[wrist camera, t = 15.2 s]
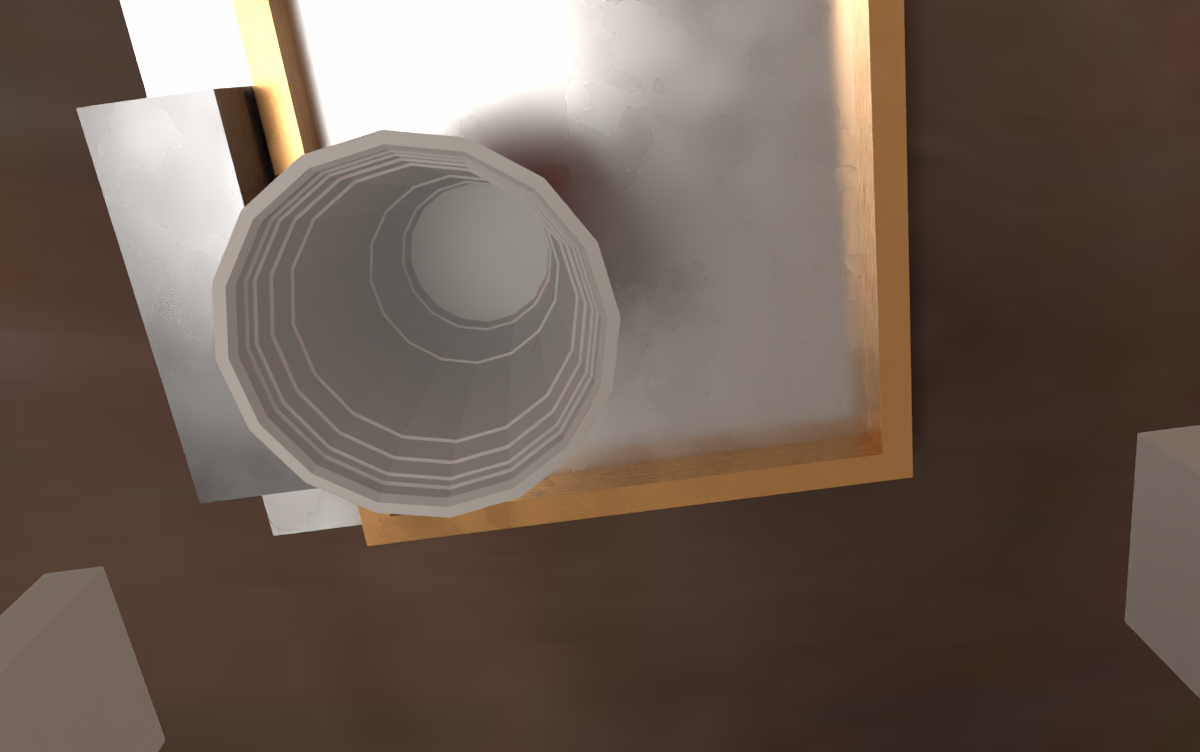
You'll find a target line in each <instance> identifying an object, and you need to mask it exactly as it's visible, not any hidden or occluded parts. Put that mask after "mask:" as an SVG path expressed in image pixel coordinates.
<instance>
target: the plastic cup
mask: <svg viewBox="0 0 1200 752" xmlns="http://www.w3.org/2000/svg"><path fill="white" fill-rule="evenodd" d="M212 296H213V317H214V338H215V358H216V362H217V364H218V366H219V368H220V370H221V372H222V374H223V377H224V379H225V381H226V383H227V385H228V387H229V389H230V391H231V393H232V395H233V397H234V399H235V401H236V404H237V406H238V408H239V410H240V412H241V414H242V416H243V418H244V420H245V422H246V424H247V426H248V429H249V430H250V431H251V432H252V433H253V434H254V435H255V436H256V437H257V438H258V439H260V440H261V441H262V442H263V443H264V444H265V445H266V446H267V447H268V448H269V449H270V450H271V451H272V452H273V453H274V454H275V455H277V456H278V457H279V458H280V459H281V460H282V461H283V462H284V463H285V464H286V465H287V466H288V467H289V468H290V469H291V470H292V471H294V472H295V473H296V474H297V475H298V476H299V477H300V478H301V479H302V480H303V481H304V482H305V483H308V484H310V485H312V486H315V487H317V488H319V489H321V490H324V491H326V492H328V493H331V494H333V495H335V496H338V497H340V498H342V499H345V500H347V501H349V502H352V503H354V504H356V505H359V506H361V507H363V508H365V509H368V510H370V511H372V512H375V513H387V514H402V515H417V516H432V517H447V518H451V517H454V516H458V515H461V514H464V513H468V512H471V511H475V510H478V509H481V508H485V507H488V506H492V505H495V504H499V503H502V502H505V501H509V500H512V499H516V498H519V497H521V496H522V495H524V494H525V493H526V492H527V491H529V490H530V489H531V488H533V487H534V486H535V485H537V484H538V483H539V482H540V481H542V480H543V479H544V478H546V477H547V476H548V475H550V474H551V473H552V472H553V471H555V470H556V469H557V468H559V467H560V466H561V465H563V464H564V463H565V462H566V461H568V460H569V459H570V458H572V457H573V456H574V455H576V454H577V452H578V451H579V449H580V447H581V445H582V444H583V442H584V440H585V438H586V437H587V435H588V433H589V431H590V430H591V428H592V426H593V424H594V423H595V421H596V419H597V417H598V416H599V414H600V412H601V410H602V409H603V407H604V405H605V403H606V402H607V400H608V398H609V396H610V395H611V393H612V391H613V383H614V374H615V365H616V355H617V346H618V337H619V328H620V319H621V316H620V313H619V310H618V307H617V303H616V300H615V297H614V294H613V290H612V287H611V284H610V281H609V277H608V274H607V271H606V268H605V264H604V261H603V258H602V255H601V251H600V248H599V245H598V242H597V241H596V239H595V238H594V237H593V236H592V235H591V233H590V232H589V231H588V230H587V229H586V227H585V226H584V225H583V224H582V223H581V221H580V220H579V219H578V218H577V217H576V215H575V214H574V213H573V212H572V211H571V209H570V208H569V207H568V206H567V205H566V203H565V202H564V201H563V200H562V199H561V198H560V196H559V195H558V194H557V193H556V192H555V190H554V189H553V188H552V187H551V186H550V184H549V183H548V182H547V181H546V180H545V178H543V177H541V176H539V175H537V174H536V173H534V172H532V171H530V170H528V169H526V168H524V167H522V166H520V165H519V164H517V163H515V162H513V161H511V160H509V159H507V158H505V157H503V156H502V155H500V154H498V153H496V152H494V151H492V150H490V149H488V148H487V147H485V146H483V145H481V144H479V143H477V142H475V141H473V140H471V139H470V138H466V137H456V136H445V135H435V134H425V133H414V132H404V131H394V130H383V129H381V130H378V131H375V132H372V133H369V134H365V135H362V136H359V137H356V138H353V139H350V140H347V141H344V142H341V143H338V144H334V145H331V146H328V147H325V148H322V149H319V150H316V151H313V152H310V153H306V154H303V155H301V156H300V157H299V158H297V159H296V160H295V161H294V162H293V163H292V164H291V165H290V166H289V167H288V168H287V169H286V170H284V171H283V172H282V173H281V174H280V175H279V176H278V177H277V178H276V179H275V180H274V181H272V182H271V183H270V184H269V185H268V186H267V187H266V188H265V189H264V190H263V191H262V192H260V193H259V194H258V195H257V196H256V197H255V198H254V199H253V200H252V201H251V202H250V203H249V204H247V205H246V206H245V207H244V208H243V209H242V210H241V212H240V215H239V217H238V219H237V222H236V224H235V227H234V229H233V232H232V234H231V237H230V239H229V242H228V244H227V247H226V249H225V252H224V254H223V257H222V259H221V262H220V264H219V266H218V269H217V271H216V274H215V276H214V279H213V281H212Z"/></svg>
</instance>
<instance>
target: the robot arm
mask: <svg viewBox="0 0 1200 752" xmlns="http://www.w3.org/2000/svg"><path fill="white" fill-rule="evenodd" d="M1125 622H1126V623H1127V624H1128V625H1129V626H1130V627H1131V628H1132V629H1133V631H1134V632H1135V633H1136V634H1137V635H1138V636H1139V637H1140V638H1141V639H1142V640H1143V641H1144V642H1145V643H1146V644H1147V645H1148V646H1149V647H1150V648H1151V649H1152V650H1153V651H1154V652H1155V653H1156V654H1157V655H1158V656H1159V657H1160V658H1161V659H1162V660H1163V661H1164V662H1165V663H1166V664H1167V665H1168V666H1169V667H1170V668H1171V670H1172V671H1173V672H1174V673H1175V674H1176V675H1177V676H1178V677H1179V678H1180V679H1181V680H1182V681H1183V682H1184V683H1185V684H1186V685H1187V686H1188V687H1189V688H1190V689H1191V690H1192V691H1193V692H1194V693H1195V694H1196V695H1197V696H1198V697H1199V698H1200V425H1197V426H1189V427H1182V428H1174V429H1166V430H1158V431H1150V432H1143V433H1138V435H1137V449H1136V464H1135V479H1134V493H1133V508H1132V522H1131V537H1130V552H1129V566H1128V581H1127V596H1126V610H1125ZM164 742H165V737H164V735H163V732H162V729H161V726H160V723H159V721H158V718H157V715H156V712H155V709H154V707H153V704H152V701H151V698H150V696H149V693H148V690H147V687H146V684H145V682H144V679H143V676H142V673H141V671H140V668H139V665H138V662H137V659H136V657H135V654H134V651H133V648H132V645H131V643H130V640H129V637H128V634H127V632H126V629H125V626H124V623H123V620H122V618H121V615H120V612H119V609H118V607H117V604H116V601H115V598H114V595H113V593H112V590H111V587H110V584H109V581H108V579H107V576H106V573H105V570H104V568H103V566H101V567H93V568H86V569H78V570H70V571H62V572H54V573H47V574H44V575H43V576H42V577H41V578H40V579H38V580H37V581H36V582H35V583H34V584H33V585H32V586H31V587H30V588H29V589H28V590H27V591H26V592H25V593H24V594H23V595H22V596H21V597H20V598H18V599H17V600H16V601H15V602H14V603H13V604H12V605H11V606H10V607H9V608H8V609H7V610H6V611H5V612H4V613H3V614H2V615H1V616H0V752H158V751H159V750H160V748H161V746H162V745H163V743H164Z"/></svg>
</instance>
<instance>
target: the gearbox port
mask: <svg viewBox="0 0 1200 752" xmlns="http://www.w3.org/2000/svg"><path fill="white" fill-rule="evenodd" d="M120 3H121V6H122V10H123V13H124V17H125V20H126V24H127V27H128V31H129V34H130V38H131V41H132V45H133V48H134V52H135V55H136V58H137V62H138V65H139V69H140V72H141V76H142V79H143V83H144V86H145V90H146V93H147V97H148V98H144V99H137V100H130V101H123V102H116V103H109V104H102V105H95V106H88V107H81V108H76V109H77V112H78V115H79V118H80V122H81V125H82V128H83V131H84V134H85V137H86V141H87V144H88V147H89V150H90V153H91V157H92V160H93V163H94V166H95V169H96V173H97V176H98V179H99V182H100V185H101V188H102V192H103V195H104V198H105V201H106V204H107V208H108V211H109V214H110V217H111V220H112V224H113V227H114V230H115V233H116V236H117V240H118V243H119V246H120V249H121V252H122V255H123V259H124V262H125V265H126V268H127V271H128V275H129V278H130V281H131V284H132V287H133V291H134V294H135V297H136V300H137V303H138V306H139V310H140V313H141V316H142V319H143V322H144V326H145V329H146V332H147V335H148V338H149V342H150V345H151V348H152V351H153V354H154V357H155V361H156V364H157V367H158V370H159V373H160V377H161V380H162V383H163V386H164V389H165V393H166V396H167V399H168V402H169V405H170V409H171V412H172V415H173V418H174V421H175V424H176V428H177V431H178V434H179V437H180V440H181V444H182V447H183V450H184V453H185V456H186V460H187V463H188V466H189V469H190V472H191V475H192V479H193V482H194V485H195V488H196V491H197V495H198V498H199V501H200V503H207V502H214V501H222V500H230V499H238V498H246V497H253V496H261V495H262V497H263V501H264V504H265V508H266V511H267V515H268V518H269V522H270V525H271V529H272V532H273V536H275V535H283V534H291V533H299V532H307V531H314V530H322V529H330V528H338V527H346V526H354V525H362V526H363V530H364V534H365V538H366V542H367V546H372V545H380V544H388V543H395V542H403V541H411V540H419V539H427V538H435V537H443V536H451V535H459V534H467V533H475V532H483V531H491V530H498V529H506V528H514V527H522V526H530V525H538V524H546V523H554V522H562V521H570V520H578V519H586V518H594V517H602V516H609V515H617V514H625V513H633V512H641V511H649V510H657V509H665V508H673V507H681V506H689V505H697V504H705V503H713V502H720V501H728V500H736V499H744V498H752V497H760V496H768V495H776V494H784V493H792V492H800V491H808V490H816V489H823V488H831V487H839V486H847V485H855V484H863V483H871V482H879V481H887V480H895V479H903V478H911V477H913V451H912V398H911V345H910V292H909V239H908V186H907V133H906V81H905V28H904V0H120ZM381 129H383V130H394V131H404V132H414V133H425V134H435V135H445V136H456V137H466V138H470V139H471V140H473V141H475V142H477V143H479V144H481V145H483V146H485V147H487V148H488V149H490V150H492V151H494V152H496V153H498V154H500V155H502V156H503V157H505V158H507V159H509V160H511V161H513V162H515V163H517V164H519V165H520V166H522V167H524V168H526V169H528V170H530V171H532V172H534V173H536V174H537V175H539V176H541V177H543V178H545V180H546V181H547V182H548V183H549V184H550V186H551V187H552V188H553V189H554V190H555V192H556V193H557V194H558V195H559V196H560V198H561V199H562V200H563V201H564V202H565V203H566V205H567V206H568V207H569V208H570V209H571V211H572V212H573V213H574V214H575V215H576V217H577V218H578V219H579V220H580V221H581V223H582V224H583V225H584V226H585V227H586V229H587V230H588V231H589V232H590V233H591V235H592V236H593V237H594V238H595V239H596V241H597V242H598V245H599V248H600V251H601V255H602V258H603V261H604V264H605V268H606V271H607V274H608V277H609V281H610V284H611V287H612V290H613V294H614V297H615V300H616V303H617V307H618V310H619V313H620V316H621V319H620V328H619V337H618V346H617V355H616V365H615V374H614V383H613V391H612V393H611V395H610V396H609V398H608V400H607V402H606V403H605V405H604V407H603V409H602V410H601V412H600V414H599V416H598V417H597V419H596V421H595V423H594V424H593V426H592V428H591V430H590V431H589V433H588V435H587V437H586V438H585V440H584V442H583V444H582V445H581V447H580V449H579V451H578V452H577V454H576V455H574V456H573V457H572V458H570V459H569V460H568V461H566V462H565V463H564V464H563V465H561V466H560V467H559V468H557V469H556V470H555V471H553V472H552V473H551V474H550V475H548V476H547V477H546V478H544V479H543V480H542V481H540V482H539V483H538V484H537V485H535V486H534V487H533V488H531V489H530V490H529V491H527V492H526V493H525V494H524V495H522V496H521V497H519V498H516V499H512V500H509V501H505V502H502V503H499V504H495V505H492V506H488V507H485V508H481V509H478V510H475V511H471V512H468V513H464V514H461V515H458V516H454V517H451V518H447V517H432V516H417V515H402V514H387V513H375V512H372V511H370V510H368V509H365V508H363V507H361V506H359V505H356V504H354V503H352V502H349V501H347V500H345V499H342V498H340V497H338V496H335V495H333V494H331V493H328V492H326V491H324V490H321V489H319V488H317V487H315V486H312V485H310V484H308V483H305V482H304V481H303V480H302V479H301V478H300V477H299V476H298V475H297V474H296V473H295V472H294V471H292V470H291V469H290V468H289V467H288V466H287V465H286V464H285V463H284V462H283V461H282V460H281V459H280V458H279V457H278V456H277V455H275V454H274V453H273V452H272V451H271V450H270V449H269V448H268V447H267V446H266V445H265V444H264V443H263V442H262V441H261V440H260V439H258V438H257V437H256V436H255V435H254V434H253V433H252V432H251V431H250V430H249V429H248V426H247V424H246V422H245V420H244V418H243V416H242V414H241V412H240V410H239V408H238V406H237V404H236V401H235V399H234V397H233V395H232V393H231V391H230V389H229V387H228V385H227V383H226V381H225V379H224V377H223V374H222V372H221V370H220V368H219V366H218V364H217V362H216V358H215V338H214V317H213V296H212V281H213V279H214V276H215V274H216V271H217V269H218V266H219V264H220V262H221V259H222V257H223V254H224V252H225V249H226V247H227V244H228V242H229V239H230V237H231V234H232V232H233V229H234V227H235V224H236V222H237V219H238V217H239V215H240V212H241V210H242V209H243V208H244V207H245V206H246V205H247V204H249V203H250V202H251V201H252V200H253V199H254V198H255V197H256V196H257V195H258V194H259V193H260V192H262V191H263V190H264V189H265V188H266V187H267V186H268V185H269V184H270V183H271V182H272V181H274V180H275V179H276V178H277V177H278V176H279V175H280V174H281V173H282V172H283V171H284V170H286V169H287V168H288V167H289V166H290V165H291V164H292V163H293V162H294V161H295V160H296V159H297V158H299V157H300V156H301V155H303V154H306V153H310V152H313V151H316V150H319V149H322V148H325V147H328V146H331V145H334V144H338V143H341V142H344V141H347V140H350V139H353V138H356V137H359V136H362V135H365V134H369V133H372V132H375V131H378V130H381Z"/></svg>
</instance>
